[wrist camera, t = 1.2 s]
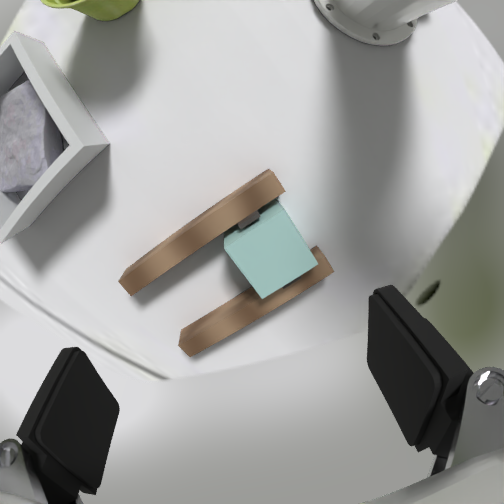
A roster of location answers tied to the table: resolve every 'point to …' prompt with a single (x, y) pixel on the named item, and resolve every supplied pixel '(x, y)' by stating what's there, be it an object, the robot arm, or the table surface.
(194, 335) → the wooden rail pair
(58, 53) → the table surface
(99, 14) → the plant pot
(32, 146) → the stone block
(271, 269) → the block
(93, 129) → the holder
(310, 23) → the table surface
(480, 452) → the robot arm
